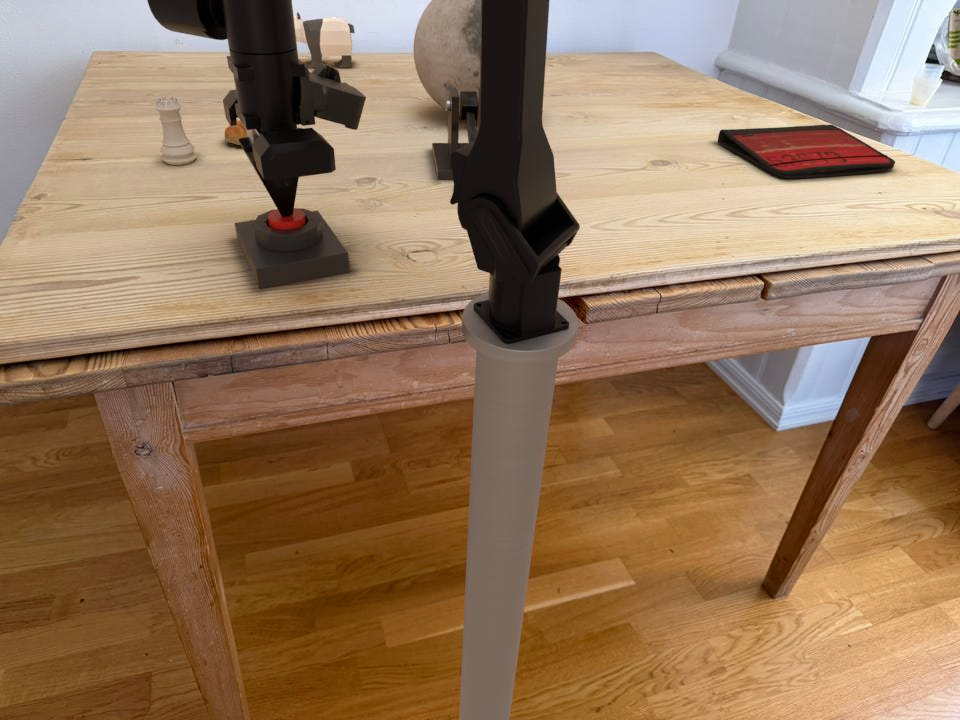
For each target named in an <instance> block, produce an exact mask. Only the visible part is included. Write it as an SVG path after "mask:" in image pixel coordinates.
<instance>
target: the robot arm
mask: <svg viewBox="0 0 960 720" xmlns="http://www.w3.org/2000/svg"><path fill="white" fill-rule="evenodd" d="M146 1H147V4H148V7H149V10H150V12H151V13H152V16H153V17H154V19H155V20H156V21H157V22H158V23H159V25H160V26H162V27H163V28H164V29H166V30H168V31H170V32H174V33H179V34H184V35H189V36H195V37H201V38H205V39H211V40H217V41H225V40H227V45H228V50H229V51H228V52H229V55H226V60H227V67H228V69H229V70H230V72H231V73H232V75H233V80H234V81H233V82H234V85H235V86H234V87H235V89H230V90H229V91H228V92H227V94H226V95H225V96H224V98H223V99H222V105H223V109H224V114H225V120H226V121H227V123H228V125H229V126H237V121H238V119H239V120H241V123H242V124H243V126H244V127H245V128H246V133H247V137H243V138H240V139H239V140H238V141H239V143H240V145H239V146H240V147H241V148H242V150H243V153H245V155H246V157H247V159H248V160H249V162H250V164H251V165H252V167H253V169H254V171H255V173H256V174H257V176H258V178H259V179H260V181H261V183H262V185H263V186H264V188H265V190H266V191H267V193H268V195H269V197H270V198H271V201H272V202H273V204H274V205H275V207H276V209H278V211H279V212H280V214H281V216H283V217H286V216H291V215H293V210H294V208H295V204H296V197H297V190H298V185H299V179H300V178H301V177H308V176H309V177H310V176H317V175H325V174H331V173H333V172H335V171H336V169H337V168H336V156H335V148H334V147H333V146H332V145H331V144H330V143H329V141H327V139H326V138H325V137H324V136H323V135H322V134H320V133H319V132H318V131H317V130H316V129H314V128H313V127H305V126H315V125H316V118H317V119H320V120H324V121H328V122H332V123H335V124H339V125H342V126H344V127H345V128H346V129H349V130H353V131H356V130H358V129H359V124H360V121H361V118H362V114H363V111H364V106H365V103H366V100H367V96H366V95H365V94H363V93H362V92H361V91H360V90H359V89H357V88H356V87H354V86H353V85H350V84H348V82H344V81H343V82H342V79H341V74H340V71H339V70H338V69H337V68H336V67H335V66H332V65H330V64H326V63H323V62H322V63H319V65H318V66H317V67H316V68H313V70H312V72H311V71H309V66H307V65H306V64H305V63H304V62H303V61H302V60H300V59H299V53H298V44H297V41H296V34H295V25H294V16H295V15H294V7H293V0H146ZM549 14H550V0H481V46H480V123H479V129H478V132H477V135H476V138H475V140H474V141H473V142H471V143H469V142H468V143H469V144H467V145H466V146H464V147H462V148H460V149H458V150H456V151H454V152H453V154H452V162H451V166H452V172H453V179H452V180H453V189H452V195H451V197H450V200H449V204H450V205H452V206H454V205H456V204H457V208H456V212H457V219H458V221H459V224H460V227H461V228H462V229H463V230H465V231H466V233H467V236H468V240H469V243H470V247H471V250H472V253H473V257H474V261H475V264H476V268H477V269H478V271H481V272H485V273H488V274H489V281H488V292H489V300H485V301H481V302H476V303H474V306H473V309H474V311H475V312H476V313H477V314H478V315H479V316H480V317H481V319H482V320H483V321H484V322H485V323H486V324H487V325H488V326H489V327H490V329H491V330H492V331H493V332H494V333H495V334H496V335H497V336H498V337H499V339H500V340H501V341H502V342H503V343H505V344H512V343H516V342H520V341H524V340H528V339H532V338H536V337H540V336H544V335H548V334H551V333H555V332H559V331H563V330H567V329H568V328H569V322H568V321H567V320H566V319H565V318H564V317H563V316H562V315H561V314H560V313H559V312H558V311H557V302H558V299H559V294H560V287H561V286H560V285H561V278H562V267H561V266H560V263H561V258H560V254H561V253H562V252H563V251H564V250H565V249H566V248H567V247H570V245H572V243H573V241H574V239H575V238H576V236H577V234H578V233H579V230H580V228H581V226H580V225H581V224H580V223H579V222H578V220H577V219H576V218H575V216H574V215H573V214H572V212H571V210H570V209H569V208H568V207H567V205H566V204H565V202H564V200H563V199H562V197H561V196H560V195H559V193H558V191H557V179H556V178H557V177H556V166H555V156H554V152H553V149H552V147H551V145H550V142H549V140H548V137H547V134H546V132H545V129H544V125H543V109H544V92H545V80H546V79H545V76H546V63H547V62H546V61H547V46H548V33H549V32H548V29H549ZM299 125H301V126H303V127H305V128H303V127H298V126H299Z"/></svg>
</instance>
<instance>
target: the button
mask: <svg viewBox="0 0 960 720" xmlns="http://www.w3.org/2000/svg"><path fill="white" fill-rule="evenodd" d="M296 208H297V207H294V210H293V215H291V216H286V217H283V216H281V214H280V212H279V211H278V209H277V208H276V209H277V210H276V209H273V210H274V211H272V212H270V213H269V215H268V221H269V227H270V228H273V229H275V230H292V229H298V228H300V227H302V226H304V225H306V221H305V214H304V212H303V211H302V210H299V209H296Z"/></svg>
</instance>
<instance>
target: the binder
mask: <svg viewBox="0 0 960 720" xmlns="http://www.w3.org/2000/svg"><path fill="white" fill-rule="evenodd" d="M717 144H718V145H720V146H722V147H723V148H727V149H728V150H730V151H732V152H734V153H736V154H737V155H740V156H742V157H743V158H745V159H747V160H748V161H750V162H752V163H754V164H755V165H757V166H759V167H761V168H762V169H764V170H765V171H766V172H770V173H771V174H773V175H775V176H778V177H782V178H785V179H810V178H825V177H828V178H829V177H841V176H853V175H861V174H870V173H878V172H885V171H889V170H892V169H894V167H895V164H896V161H895V160H894V159H893V158H891V157H890V156H888V155H887V154H885V153H883V152H881V151H879V150H877V149H876V148H875V147H873V146H871V145H869V144H868V143H866V142H864V141H863V140H861V139H859V138H858V137H856V136H854V135H852V134H850V133H849V132H846V131H845V130H843V129H842V128H841V127H838V126H837V125H834V124H814V125H795V126H780V127H778V126H777V127H758V128H757V127H755V128H736V129H734V128H733V129H720V130H719V132H718V137H717Z"/></svg>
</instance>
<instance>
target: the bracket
mask: <svg viewBox="0 0 960 720" xmlns="http://www.w3.org/2000/svg"><path fill="white" fill-rule="evenodd" d="M478 105H479V107H478V116H477V120H476V129H477V132H478V129H479V123H480V87H479V88H478ZM445 111H446V112H448V113H447V116H448V117H447V119H448V120H447V123H448V125H447V142H432V143H431V152H432V157H433V162H434V167H435V171H436V176H437V180H454V179H453V172H452V166H451V162H452V154H453V152H454V151H456V150H458V149H460V148H462V147H464V146H466V145H467V144H469V142H459V136H460V134H459V133H460V129H459V128H460V116H459V94H458V92H457V89H456V87H449V100H446V110H445Z"/></svg>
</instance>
